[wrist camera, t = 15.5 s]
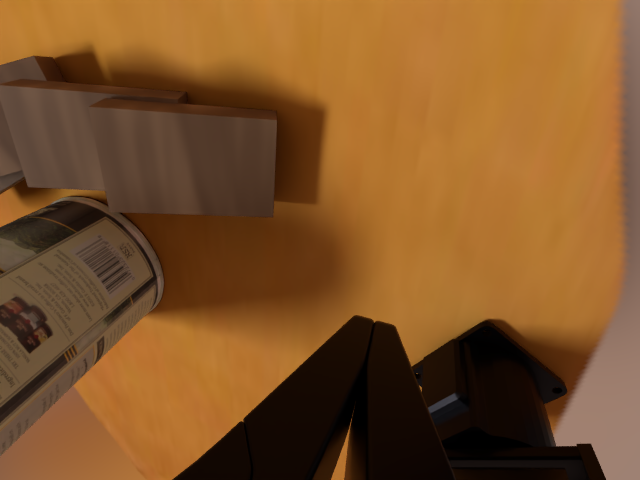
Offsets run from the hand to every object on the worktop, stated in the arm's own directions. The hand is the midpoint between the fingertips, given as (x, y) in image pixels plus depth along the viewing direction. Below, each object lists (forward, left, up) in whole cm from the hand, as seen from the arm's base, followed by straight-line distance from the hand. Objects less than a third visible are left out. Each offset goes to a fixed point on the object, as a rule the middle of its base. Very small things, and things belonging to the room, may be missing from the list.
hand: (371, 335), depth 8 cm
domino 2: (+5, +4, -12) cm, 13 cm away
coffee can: (+11, +20, -13) cm, 26 cm away
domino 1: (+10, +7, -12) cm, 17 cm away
